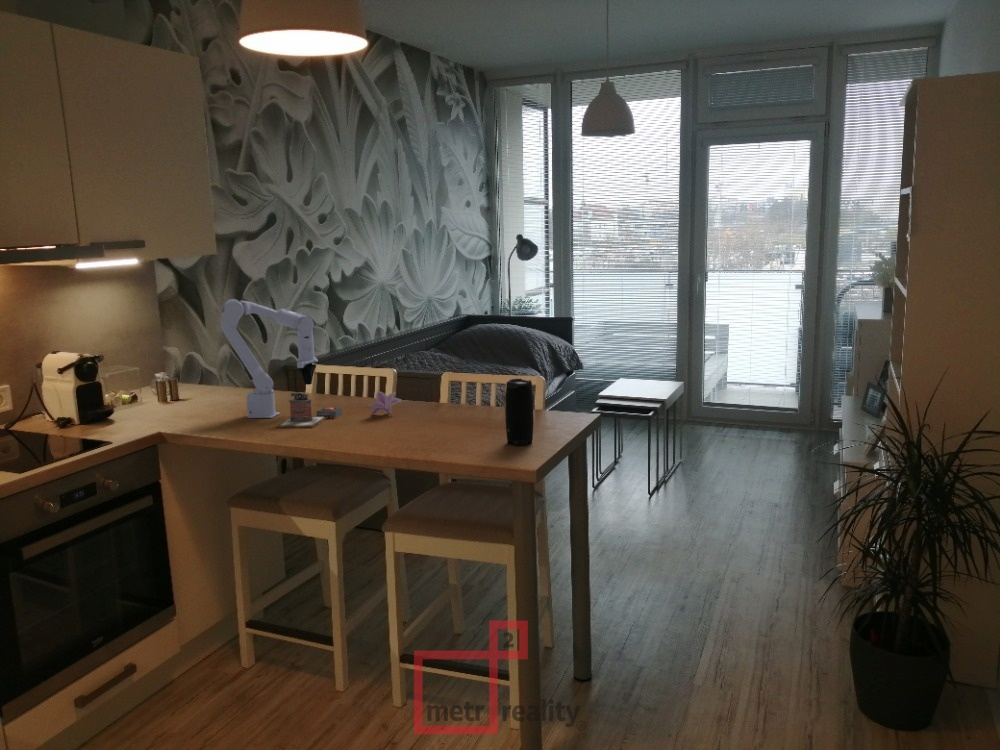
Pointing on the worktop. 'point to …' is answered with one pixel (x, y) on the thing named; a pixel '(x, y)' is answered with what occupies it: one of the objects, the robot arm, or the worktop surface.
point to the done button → (329, 408)
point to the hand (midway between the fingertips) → (308, 384)
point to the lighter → (300, 407)
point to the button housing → (330, 412)
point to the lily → (383, 402)
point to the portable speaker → (519, 412)
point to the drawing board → (302, 424)
